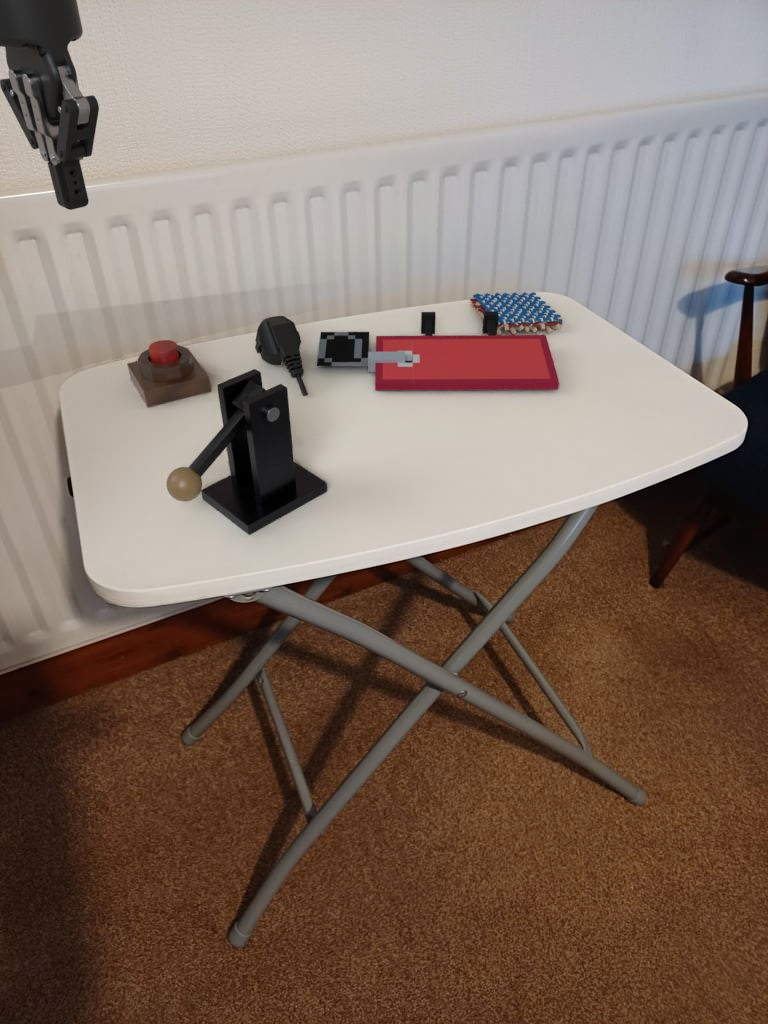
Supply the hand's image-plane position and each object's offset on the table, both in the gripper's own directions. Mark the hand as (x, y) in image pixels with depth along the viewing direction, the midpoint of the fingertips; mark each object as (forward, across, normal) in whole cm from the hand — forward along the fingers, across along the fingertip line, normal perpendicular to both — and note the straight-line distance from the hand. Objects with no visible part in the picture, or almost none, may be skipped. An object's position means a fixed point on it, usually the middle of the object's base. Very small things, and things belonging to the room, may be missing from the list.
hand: (74, 206), depth 69 cm
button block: (+27, -11, +12) cm, 31 cm away
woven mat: (+27, +8, +56) cm, 63 cm away
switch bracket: (+27, +15, +6) cm, 32 cm away
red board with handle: (+27, +8, +39) cm, 48 cm away
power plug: (+27, -3, +24) cm, 36 cm away
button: (+23, -11, +11) cm, 28 cm away
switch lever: (+20, +15, +3) cm, 25 cm away
